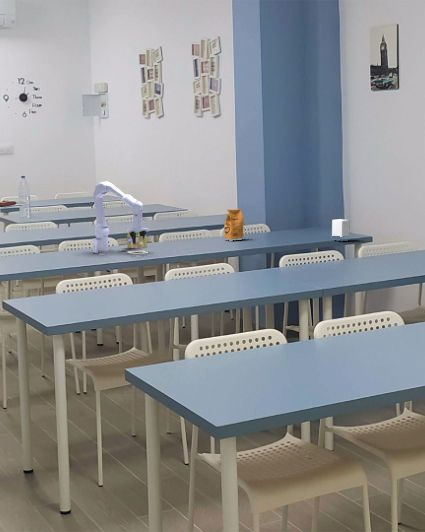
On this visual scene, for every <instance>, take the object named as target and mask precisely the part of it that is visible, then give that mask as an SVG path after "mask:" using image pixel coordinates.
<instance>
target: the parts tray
mask: <svg viewBox="0 0 425 532" xmlns="http://www.w3.org/2000/svg"><path fill="white" fill-rule="evenodd" d="M142 250H143V249H141V251H129V252H126V253H128V254H130V255H142V254H149V252H148V251H146V250H144V251H142Z"/></svg>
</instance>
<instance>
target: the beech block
mask: <svg viewBox="0 0 425 532" xmlns="http://www.w3.org/2000/svg"><path fill="white" fill-rule="evenodd" d="M133 248H139V249H144V248H143V236H136V244H133Z"/></svg>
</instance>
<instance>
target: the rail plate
mask: <svg viewBox="0 0 425 532" xmlns="http://www.w3.org/2000/svg"><path fill="white" fill-rule="evenodd" d="M141 250H142V251H145V250H144V249H142V248H139V249H137V248H128V247H126V248H125V247H124V248H121V249H120V250H117V252H118V253H127V252H129V251H141Z"/></svg>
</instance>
